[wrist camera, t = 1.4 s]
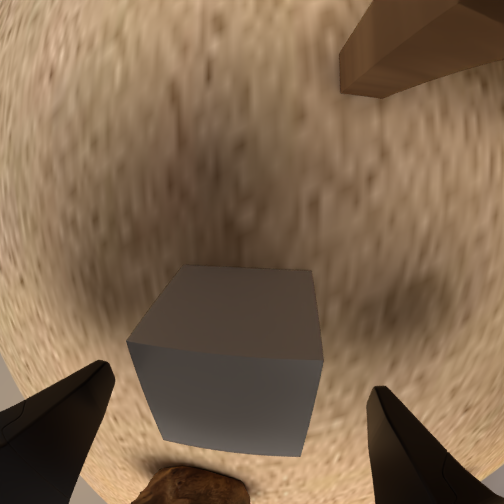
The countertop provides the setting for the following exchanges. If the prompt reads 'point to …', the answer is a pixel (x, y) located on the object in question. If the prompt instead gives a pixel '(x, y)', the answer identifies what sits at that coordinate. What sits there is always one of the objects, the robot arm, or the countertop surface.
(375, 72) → the frame
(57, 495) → the robot arm
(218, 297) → the gray cube
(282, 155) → the countertop surface
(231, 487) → the shell
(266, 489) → the countertop surface
